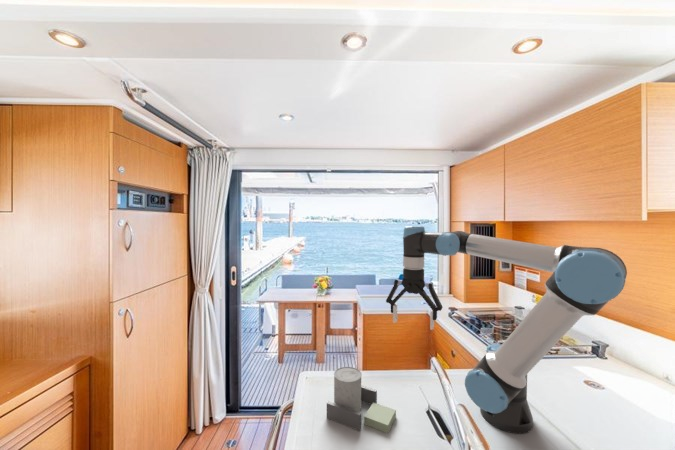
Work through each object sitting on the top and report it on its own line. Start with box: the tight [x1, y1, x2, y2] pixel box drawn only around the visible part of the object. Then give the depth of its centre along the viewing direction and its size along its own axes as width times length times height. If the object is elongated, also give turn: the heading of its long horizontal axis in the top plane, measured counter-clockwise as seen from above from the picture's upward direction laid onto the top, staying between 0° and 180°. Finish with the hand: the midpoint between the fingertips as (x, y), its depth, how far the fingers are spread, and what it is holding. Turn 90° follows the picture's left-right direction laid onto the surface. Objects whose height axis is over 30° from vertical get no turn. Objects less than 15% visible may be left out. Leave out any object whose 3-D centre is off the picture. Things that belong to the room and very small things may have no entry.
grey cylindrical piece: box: [333, 366, 363, 414], centre depth 98 cm, size 10×10×12 cm
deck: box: [363, 402, 397, 434], centre depth 93 cm, size 8×8×2 cm
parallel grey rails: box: [326, 384, 378, 432], centre depth 98 cm, size 12×15×5 cm
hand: (413, 325), depth 105 cm, fingers open, 13 cm apart
